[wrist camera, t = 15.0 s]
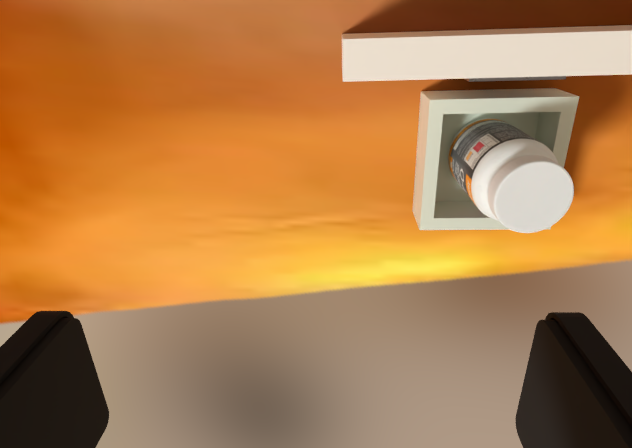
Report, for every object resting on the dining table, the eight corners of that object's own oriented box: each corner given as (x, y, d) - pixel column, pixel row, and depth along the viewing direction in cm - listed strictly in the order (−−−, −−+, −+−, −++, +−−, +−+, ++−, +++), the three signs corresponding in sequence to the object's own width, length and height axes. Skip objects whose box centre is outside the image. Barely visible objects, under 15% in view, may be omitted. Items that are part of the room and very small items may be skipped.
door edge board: (341, 33, 32) (342, 39, 26) (654, 24, 31) (734, 27, 25) (342, 74, 34) (342, 88, 27) (643, 66, 33) (717, 79, 26)
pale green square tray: (420, 91, 34) (429, 99, 31) (555, 88, 33) (579, 96, 30) (412, 210, 38) (419, 230, 35) (531, 209, 38) (550, 229, 34)
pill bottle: (431, 161, 36) (463, 210, 27) (479, 101, 34) (533, 132, 25) (484, 198, 37) (533, 257, 28) (535, 142, 35) (605, 186, 26)
